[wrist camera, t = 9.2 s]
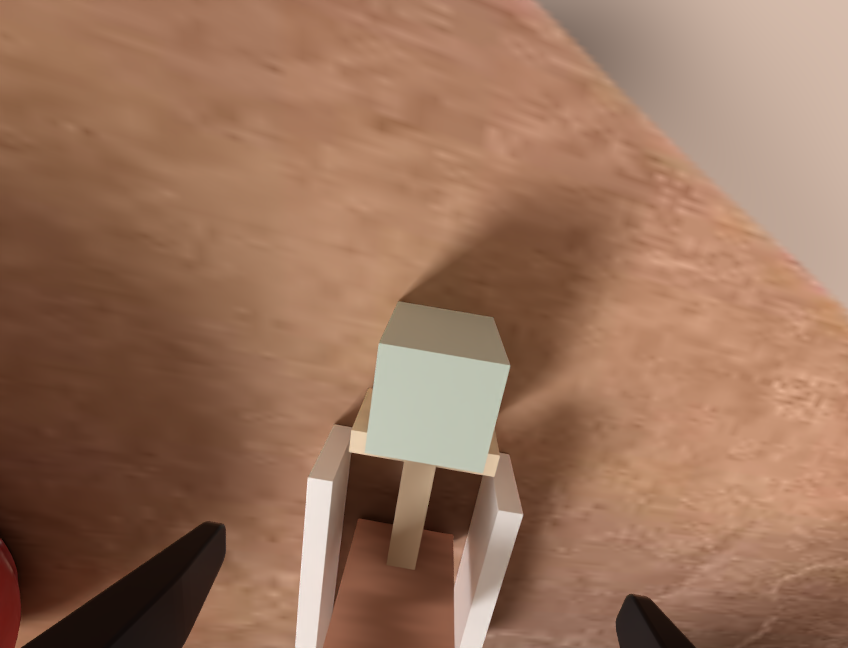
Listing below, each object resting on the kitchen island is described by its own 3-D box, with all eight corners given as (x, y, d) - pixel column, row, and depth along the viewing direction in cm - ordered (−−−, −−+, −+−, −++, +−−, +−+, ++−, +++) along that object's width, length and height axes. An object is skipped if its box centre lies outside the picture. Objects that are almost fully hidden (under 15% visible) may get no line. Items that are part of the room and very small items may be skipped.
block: (493, 317, 20) (510, 365, 15) (474, 400, 22) (483, 473, 16) (398, 300, 20) (378, 342, 15) (386, 385, 22) (364, 452, 16)
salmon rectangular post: (490, 408, 21) (519, 552, 13) (454, 553, 25) (458, 742, 16) (368, 387, 21) (315, 517, 13) (349, 535, 25) (298, 714, 16)
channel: (509, 454, 23) (523, 514, 19) (455, 647, 28) (457, 727, 24) (333, 424, 23) (307, 477, 19) (314, 622, 28) (291, 698, 24)
